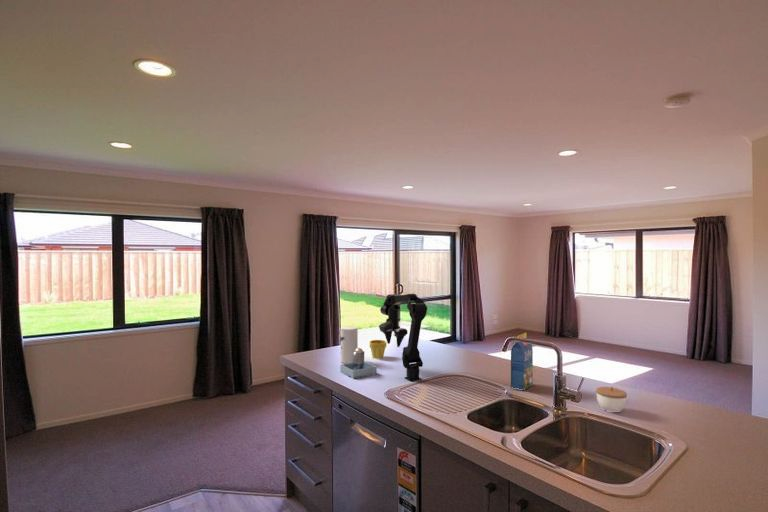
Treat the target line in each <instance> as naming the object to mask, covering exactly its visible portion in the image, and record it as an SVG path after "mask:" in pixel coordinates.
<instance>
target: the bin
mask: <svg viewBox="0 0 768 512" xmlns="http://www.w3.org/2000/svg"><path fill="white" fill-rule="evenodd" d="M339 366H340V371H339V372H340V373H341V372H342V373H341V374H343V373H344V374H343V375H345V374H346V375H345V376H347V375H348V376H347V377H349V376H350V377H349V378H351V377H352V378H355V379H358V378H357V377H360V378H363V377H362V376H365V377H368V376H367V375H370V376H374V375H373V374H375V375H377V372H378V371H377V369H378V368H377V365H374V364H371V363H369V362H367V361H365V360H364V369H359V370H353V363H341V364H340V365H339ZM352 378H351V379H352Z"/></svg>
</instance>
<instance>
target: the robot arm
mask: <svg viewBox="0 0 768 512" xmlns="http://www.w3.org/2000/svg"><path fill="white" fill-rule="evenodd" d="M411 302H414V303H411ZM402 303H407V304H406V308H407V310H408V312H409V313H408V314H409V316H410V318H411V321H410V328H409V335H408V329H407V328H403V327H401V326H400V325H399V324H400V323H399V322H400V321H401V319H400V318H399V313H400V312H399V311H400V310H401V307H400V306H399V305H400V304H402ZM379 310H380V313H381V315H384V316H388V317H387V318H386V320H385V322H382V323H381V324H379V325H378V328H379V331H380V332H381V333H383V334H384V336H385V339H386V340H385V341H386V344H388V345H389V344H390V343H391V340H392V335H393V332H394V337H395V338H396V346H397V348H400V346H401V344H402V342H403V340H404V339H405V336H407V335H408V341H407V342H408V343H407V346H404V347H403V348H402V353H401V355H402V357H401V360H402V365H403V367H404V369H406V376H405V377H404V379H406V380H407V381H410V382H417V381H420V380H422V379H423V378H422V377H420V368H422V367H423V365H424V362H423V361H422V358H421V356H420V354H421V353H420V350H419V347H418V345H419V340H420V332H421V328H422V327H421V326H422V321H423V320H424V319H425V318H426V316H427V313H428V305H426V303H425V302H424V300H423V299H421V298H420V297H418V296H417V294H416V293H407V294H399V293H394V294H386V297H385V300H384V302H383V305H382V306H381V307H380V309H379Z"/></svg>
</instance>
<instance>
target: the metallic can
mask: <svg viewBox="0 0 768 512" xmlns="http://www.w3.org/2000/svg"><path fill="white" fill-rule="evenodd" d="M364 361H365V351H364V350H363V349H362V348H360V347H358V348H357V349H355V351H353V370H359V369H364Z"/></svg>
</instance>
